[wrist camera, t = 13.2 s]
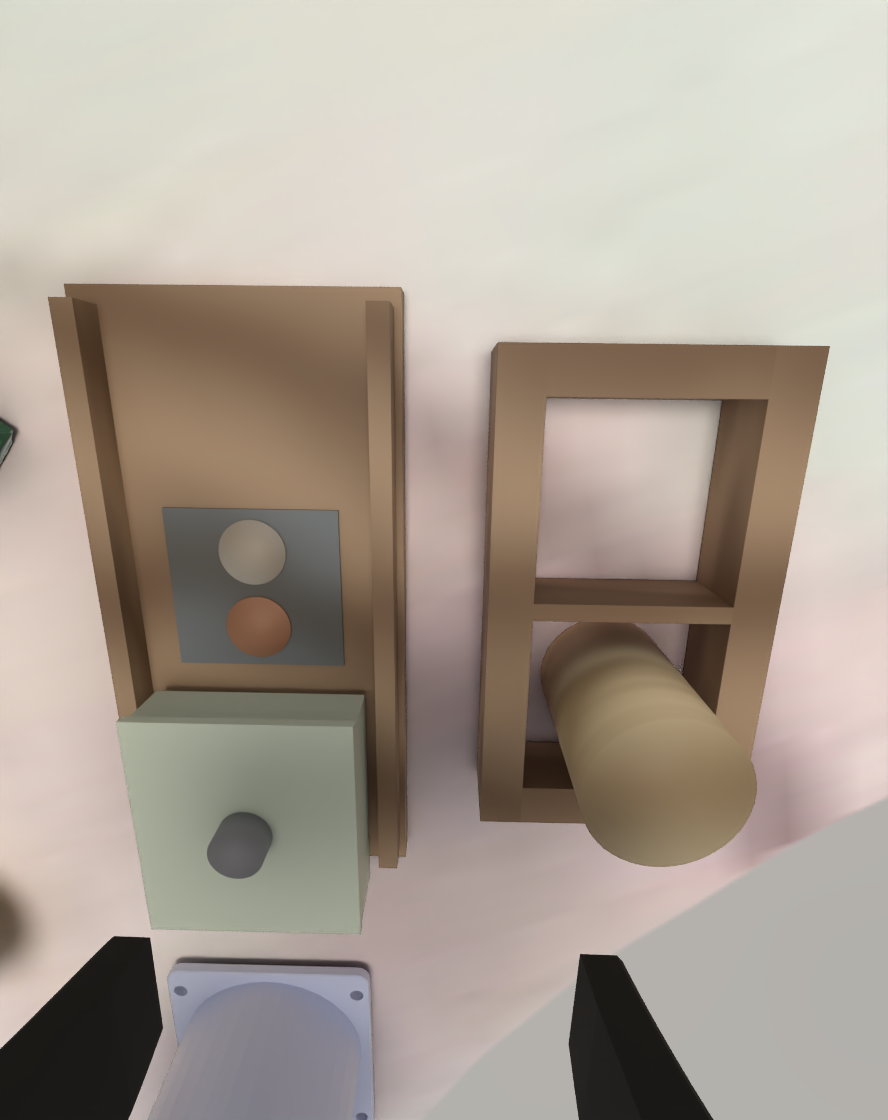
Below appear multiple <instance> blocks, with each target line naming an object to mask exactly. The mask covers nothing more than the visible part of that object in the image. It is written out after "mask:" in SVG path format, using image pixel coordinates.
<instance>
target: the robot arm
mask: <svg viewBox="0 0 888 1120" xmlns="http://www.w3.org/2000/svg"><path fill="white" fill-rule="evenodd" d="M167 981H168V987H169V993H170V999H171V1005H172V1011H173V1017H174V1023H175V1029H176V1035H177V1041H178V1050H177V1052H176V1054H175V1057H174V1059H173V1061H172V1064H171V1066H170V1068H169V1071H168V1073H167V1075H166V1078H165V1080H164V1082H163V1085H162V1087H161V1089H160V1092H159V1094H158V1096H157V1099H156V1101H155V1103H154V1106H153V1108H152V1110H151V1113H150V1115H149V1117H148V1120H375V1110H374V1079H373V1047H372V1016H371V985H370V975H369V973H368V972H367V971H366V970H365V969H363V968H358V967H323V966H285V965H246V964H208V963H178V964H176V965H174V966H173V967H172V969H171V971H170V973H169V975H168V978H167ZM574 999H575V1000H574V1006H573V1014H572V1022H571V1030H570V1038H569V1050H570V1057H571V1065H572V1073H573V1080H574V1088H575V1095H576V1101H577V1109H578V1116H579V1120H713V1118H712V1117H711V1115H710V1114H709V1112H708V1111H707V1109H706V1107H705V1106H704V1104H703V1102H702V1101H701V1099H700V1097H699V1096H698V1094H697V1093H696V1091H695V1090H694V1088H693V1086H692V1085H691V1083H690V1081H689V1080H688V1078H687V1076H686V1075H685V1073H684V1071H683V1070H682V1068H681V1066H680V1064H679V1063H678V1061H677V1060H676V1058H675V1056H674V1054H673V1053H672V1051H671V1049H670V1047H669V1046H668V1044H667V1042H666V1040H665V1039H664V1037H663V1035H662V1034H661V1032H660V1030H659V1028H658V1027H657V1025H656V1023H655V1021H654V1019H653V1018H652V1016H651V1014H650V1012H649V1011H648V1009H647V1007H646V1005H645V1003H644V1002H643V999H642V998H641V996H640V994H639V992H638V991H637V988H636V986H635V985H634V983H633V981H632V979H631V977H630V975H629V973H628V971H627V969H626V968H625V966H624V963H623V962H622V960H620V958H619V957H618V956H615V955H589V954H580V959H579V967H578V975H577V983H576V991H575V998H574ZM162 1029H163V1025H162V1018H161V1011H160V1004H159V997H158V990H157V983H156V976H155V969H154V962H153V955H152V948H151V941H150V938H145V937H119V936H114V937H113V938H111V939H110V940H109V941H108V942H107V943H106V944H105V945H104V946H103V947H102V948H101V949H100V950H99V951H98V952H97V953H96V954H95V955H94V956H93V957H92V958H91V959H90V960H89V961H88V962H87V963H86V964H85V965H84V966H83V967H82V968H81V969H80V970H79V971H78V972H77V973H76V974H75V975H74V976H73V977H72V978H71V979H70V980H69V981H68V982H67V983H66V984H65V985H64V986H63V987H62V988H61V989H60V990H59V991H58V992H57V993H56V994H55V995H54V996H53V997H52V998H51V999H50V1000H49V1001H48V1002H47V1003H46V1004H45V1005H44V1006H43V1007H42V1008H41V1009H40V1010H39V1011H38V1012H37V1013H36V1014H35V1015H34V1016H33V1017H32V1018H31V1019H30V1020H29V1021H28V1022H27V1023H26V1024H25V1025H24V1026H23V1027H22V1028H21V1029H20V1030H19V1031H18V1032H17V1033H16V1034H15V1035H14V1036H13V1037H12V1038H11V1039H10V1040H9V1041H8V1042H7V1043H6V1044H5V1045H4V1046H3V1047H2V1048H1V1049H0V1120H128V1118H129V1116H130V1114H131V1112H132V1110H133V1107H134V1104H135V1102H136V1099H137V1097H138V1094H139V1091H140V1089H141V1086H142V1084H143V1081H144V1078H145V1076H146V1073H147V1070H148V1068H149V1065H150V1062H151V1059H152V1057H153V1054H154V1051H155V1048H156V1046H157V1043H158V1040H159V1037H160V1035H161V1032H162Z"/></svg>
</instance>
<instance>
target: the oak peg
mask: <svg viewBox="0 0 888 1120" xmlns="http://www.w3.org/2000/svg"><path fill="white" fill-rule="evenodd" d="M541 684H542V688H543V692H544V695H545V698H546V701H547V704H548V708H549V711H550V714H551V717H552V720H553V724H554V727H555V730H556V733H557V736H558V740H559V743H560V746H561V749H562V752H563V756H564V759H565V762H566V765H567V768H568V772H569V775H570V778H571V781H572V784H573V788H574V791H575V794H576V797H577V800H578V804H579V807H580V810H581V813H582V816H583V819H584V822H585V824H586V827H587V828H588V830H589V832H590V833H591V835H592V836H593V837H594V839H595V840H596V841H597V842H598V843H599V844H600V845H601V846H602V847H603V848H604V849H606V850H607V851H608V852H610V853H611V854H613V855H615V856H617V857H619V858H621V859H623V860H626V861H628V862H631V863H635V864H639V865H644V866H652V867H667V866H676V865H682V864H686V863H690V862H693V861H696V860H699V859H701V858H704V857H706V856H708V855H710V854H712V853H714V852H716V851H717V850H719V849H720V848H721V847H723V846H724V845H726V844H727V843H728V842H729V841H730V840H731V839H733V838H734V837H735V835H736V834H737V833H738V832H739V831H740V830H741V829H742V827H743V826H744V824H745V823H746V821H747V820H748V818H749V816H750V814H751V812H752V809H753V806H754V803H755V798H756V792H757V781H756V774H755V770H754V767H753V764H752V762H751V760H750V758H749V756H748V754H747V753H746V751H745V750H744V748H743V747H742V746H741V745H740V744H739V742H738V741H737V740H736V739H735V738H734V737H733V735H732V734H731V733H730V732H729V731H728V729H727V728H726V727H725V726H724V725H723V724H722V722H721V721H720V720H719V719H718V718H717V716H716V715H715V714H714V713H713V712H712V710H711V709H710V708H709V707H708V706H707V705H706V703H705V702H704V701H703V700H702V699H701V697H700V696H699V695H698V694H697V693H696V691H695V690H694V689H693V688H692V687H691V686H690V684H689V683H688V682H687V681H686V680H685V678H684V677H683V676H682V675H681V674H680V673H679V671H678V670H677V669H676V668H675V667H674V665H673V664H672V663H671V662H670V661H669V659H668V658H667V657H666V656H665V655H664V654H663V652H662V651H661V650H660V649H659V648H658V646H657V645H656V644H655V643H654V642H653V641H652V639H651V638H650V637H649V636H648V635H647V634H646V633H645V632H644V631H643V630H641V629H640V628H639V627H637V626H635V625H634V624H632V623H619V622H579V623H577V624H575V625H573V626H571V627H570V628H568V629H566V630H565V631H564V632H562V633H561V634H560V635H559V636H558V637H557V638H556V639H555V640H554V641H553V643H552V644H551V645H550V647H549V648H548V650H547V652H546V654H545V656H544V659H543V662H542V667H541Z"/></svg>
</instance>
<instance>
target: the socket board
mask: <svg viewBox="0 0 888 1120" xmlns="http://www.w3.org/2000/svg"><path fill="white" fill-rule="evenodd" d="M829 348H830V346H775V345H689V344H603V343H518V342H498V343H497V345H496V346H495V347H494V349H493V350H492V352H491V382H490V411H489V440H488V470H487V499H486V528H485V558H484V587H483V616H482V646H481V675H480V705H479V734H478V763H477V776H478V791H479V807H480V821H495V822H539V823H583V824H585V822H584V819H583V816H582V813H581V810H580V807H579V804H578V800H577V797H576V794H575V791H574V788H573V784H572V781H571V778H570V775H569V772H568V768H567V765H566V762H565V759H564V756H563V752H562V749H561V746H560V743H548V742H525V739H526V723H527V706H528V690H529V673H530V657H531V641H532V624H533V621H564V622H619V623H675V624H690V629H689V636H688V642H687V649H686V656H685V663H684V670H683V677H684V678H685V680H686V681H687V682H688V683H689V684H690V686H691V687H692V688H693V689H694V690H695V691H696V693H697V694H698V695H699V696H700V697H701V699H702V700H703V701H704V702H705V703H706V705H707V706H708V707H709V708H710V709H711V710H712V712H713V713H714V714H715V715H716V716H717V718H718V719H719V720H720V721H721V722H722V724H723V725H724V726H725V727H726V728H727V729H728V731H729V732H730V733H731V734H732V735H733V737H734V738H735V739H736V740H737V741H738V742H739V744H740V745H741V746H742V747H743V748H744V750H745V751H746V753H747V754H748V756H749V758H750V760H751V755H752V750H753V744H754V739H755V734H756V729H757V724H758V718H759V713H760V708H761V703H762V697H763V692H764V687H765V682H766V677H767V671H768V666H769V661H770V656H771V651H772V645H773V640H774V635H775V630H776V624H777V619H778V614H779V609H780V604H781V598H782V593H783V588H784V583H785V578H786V572H787V567H788V562H789V557H790V551H791V546H792V541H793V536H794V531H795V525H796V520H797V515H798V510H799V504H800V499H801V494H802V489H803V484H804V478H805V473H806V468H807V463H808V458H809V452H810V447H811V442H812V437H813V431H814V426H815V421H816V416H817V411H818V405H819V400H820V395H821V390H822V385H823V379H824V374H825V369H826V364H827V358H828V353H829ZM546 398H578V399H656V400H723V402H722V409H721V416H720V422H719V429H718V436H717V443H716V450H715V457H714V464H713V471H712V477H711V484H710V491H709V498H708V505H707V512H706V519H705V526H704V532H703V539H702V546H701V553H700V560H699V567H698V574H697V581H682V580H623V579H565V578H535V575H536V559H537V542H538V526H539V509H540V493H541V477H542V460H543V444H544V427H545V411H546Z"/></svg>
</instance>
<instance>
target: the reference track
mask: <svg viewBox="0 0 888 1120" xmlns="http://www.w3.org/2000/svg"><path fill="white" fill-rule="evenodd" d="M64 288H65V294H66V297H48V301H49V306H50V312H51V318H52V324H53V330H54V336H55V342H56V348H57V354H58V360H59V366H60V372H61V377H62V383H63V389H64V395H65V401H66V407H67V413H68V419H69V425H70V431H71V437H72V443H73V448H74V454H75V460H76V466H77V472H78V478H79V484H80V490H81V496H82V502H83V508H84V514H85V520H86V525H87V531H88V537H89V543H90V549H91V555H92V561H93V567H94V573H95V579H96V585H97V591H98V596H99V602H100V608H101V614H102V620H103V626H104V632H105V638H106V644H107V650H108V656H109V662H110V667H111V673H112V679H113V685H114V691H115V697H116V703H117V709H118V715H119V719H120V718H121V717H122V716H131V715H132V714H133V713H134V712H135V711H136V710H137V709H138V708H139V707H140V706H141V705H142V704H143V703H144V702H145V701H146V700H147V699H148V698H149V697H150V696H151V695H153V694H154V693H155V692H156V691H198V692H248V693H299V694H350V695H365V719H366V752H367V786H368V819H369V852H370V856H379V868H397V864H398V857H406V848H407V708H406V561H405V415H404V293H403V291H402V288H401V287H331V286H235V285H139V284H64Z"/></svg>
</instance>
